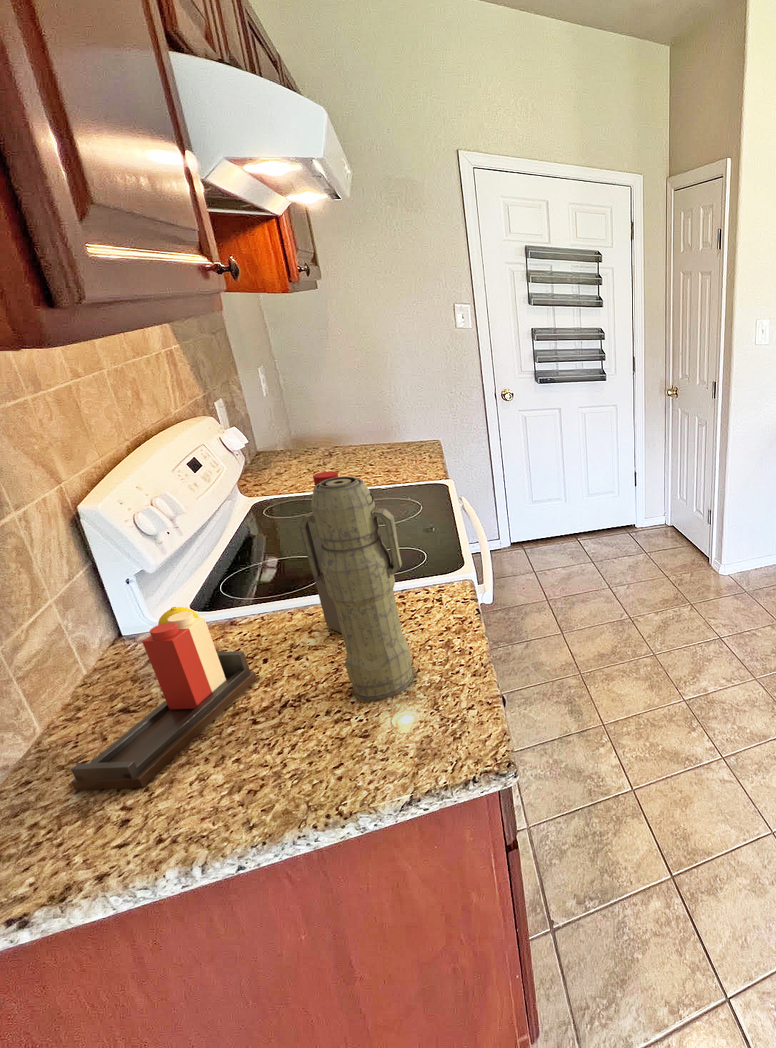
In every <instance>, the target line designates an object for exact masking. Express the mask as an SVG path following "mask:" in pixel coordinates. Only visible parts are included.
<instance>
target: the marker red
mask: <svg viewBox="0 0 776 1048" xmlns="http://www.w3.org/2000/svg"><path fill="white" fill-rule="evenodd" d="M149 634H150V635H149V636H147V637H146V638H144V639H143V640H142V641H141V643H142V645H143V648H144V649H145V653H146V654H147V657H148V661H149V662H150V665H151V667H152V670H153V672H154V675H155V677H156V679H157V682H158V685H159V687H160V690H161V693H162V695H163V697H164V699H165V700H164V701H166V702H167V705H168V707H169V709H170V710H172V709H195V708H196V707H198V706H199V705H200V704H201V703H202V702H203V701H204V700H206V699H207V698H208V697H209V696H210V695H211V694H212V691H211V689H210V686H209V683H208V680H207V678H206V675H205V672H204V669H203V667H202V664H201V661H200V658H199V656H198V653H197V650H196V647H195V645H194V642H193V639H192V636H191V634H190V631H189V629H178V627H177V625H176V623H172V622H170V623H164V624H160V625H158V624H157V625H155V626H153V627H152V628H150V630H149Z"/></svg>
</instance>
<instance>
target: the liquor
mask: <svg viewBox="0 0 776 1048" xmlns="http://www.w3.org/2000/svg"><path fill="white" fill-rule="evenodd" d="M336 477H339V473H338V472H337V471H331V470H330V471H320V472H317V473H314V474H312V479H313V483H314V486H315V485H317V484H319V483H320V482H322V481H324V480H327V479H330V478H336ZM313 544H314V548H315V552H316V556H317V560H318V564H319V567H320V573H321V572H322V568H321V561H322V554H323V551H322V547H321V545H322V540H321V539H320V537H319V535H318V534H317V536H316V537H315V538H314V539H313ZM314 583H315V586H316V590H317V594H318V597H319V601H320V605H321V609H322V612H323V616H324V620H325V624H326V627H328V628H329V629H330V630H333V631H335V632H338V633H340V634H342V632H341V628H340V624H339V620H338V616H337V612H336V608H335V604H334V602H333V601H332V600H331V599H330V597H329V595H328V592H327V588H326V584H323V583H322V580H321V581H315V580H314Z"/></svg>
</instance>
